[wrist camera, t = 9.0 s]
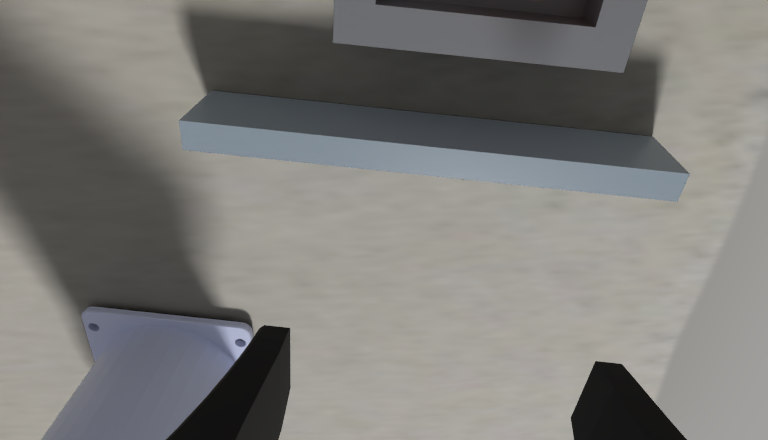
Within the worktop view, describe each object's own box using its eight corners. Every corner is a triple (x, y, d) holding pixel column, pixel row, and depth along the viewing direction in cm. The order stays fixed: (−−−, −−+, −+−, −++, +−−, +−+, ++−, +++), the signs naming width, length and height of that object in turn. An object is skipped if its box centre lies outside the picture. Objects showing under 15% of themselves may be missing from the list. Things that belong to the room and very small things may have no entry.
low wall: (643, 161, 19) (677, 201, 17) (213, 116, 19) (182, 149, 17) (653, 136, 19) (689, 174, 16) (211, 90, 19) (179, 120, 16)
